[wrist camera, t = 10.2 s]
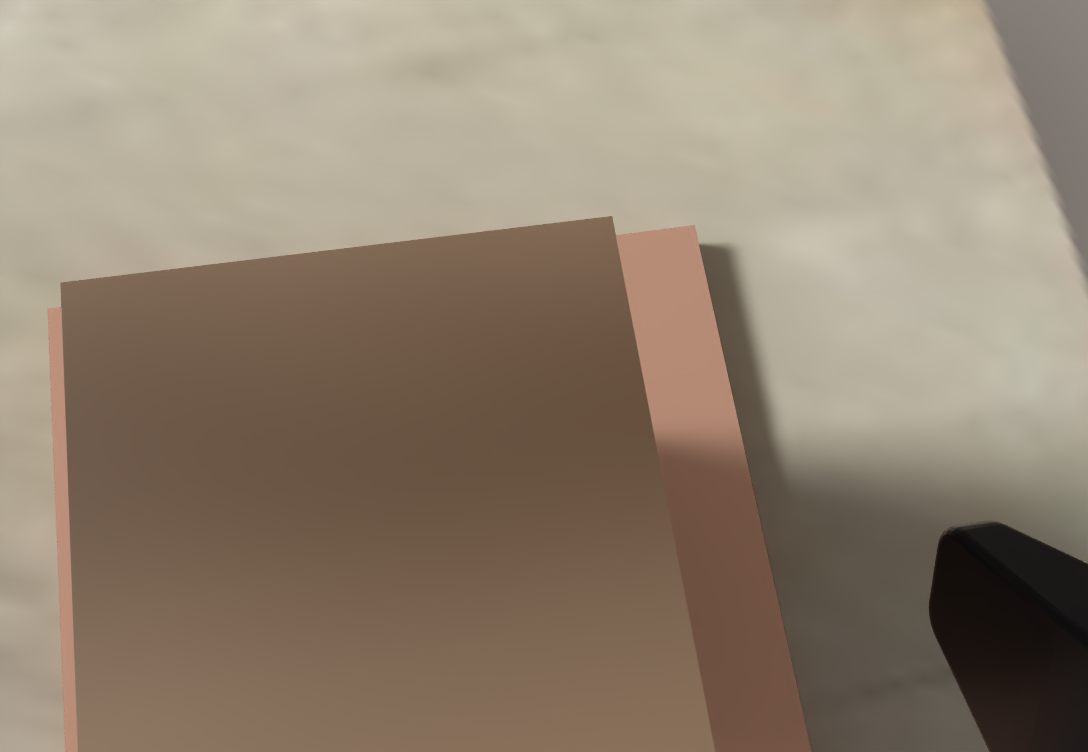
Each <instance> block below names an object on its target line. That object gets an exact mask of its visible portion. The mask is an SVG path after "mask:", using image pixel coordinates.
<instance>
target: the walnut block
mask: <svg viewBox="0 0 1088 752" xmlns="http://www.w3.org/2000/svg"><path fill="white" fill-rule="evenodd" d="M61 308H62V335H63V362H64V389H65V416H66V443H67V471H68V498H69V525H70V552H71V579H72V606H73V633H74V661H75V688H76V715H77V742H78V752H715V747H714V742H713V737H712V732H711V727H710V722H709V716H708V711H707V706H706V701H705V696H704V690H703V685H702V680H701V675H700V670H699V665H698V659H697V654H696V649H695V644H694V639H693V633H692V628H691V623H690V618H689V613H688V607H687V602H686V597H685V592H684V587H683V582H682V576H681V571H680V566H679V561H678V556H677V550H676V545H675V540H674V535H673V530H672V525H671V519H670V514H669V509H668V504H667V499H666V493H665V488H664V483H663V478H662V473H661V467H660V462H659V457H658V452H657V447H656V442H655V436H654V431H653V426H652V421H651V416H650V410H649V405H648V400H647V395H646V390H645V384H644V379H643V374H642V369H641V364H640V359H639V353H638V348H637V343H636V338H635V333H634V327H633V322H632V317H631V312H630V307H629V302H628V296H627V291H626V286H625V281H624V276H623V270H622V265H621V260H620V255H619V250H618V244H617V239H616V234H615V229H614V224H613V219H612V216H610V217H601V218H593V219H585V220H576V221H568V222H560V223H552V224H543V225H535V226H527V227H518V228H510V229H502V230H494V231H485V232H477V233H469V234H460V235H452V236H444V237H436V238H427V239H419V240H411V241H402V242H394V243H386V244H377V245H369V246H361V247H353V248H344V249H336V250H328V251H319V252H311V253H303V254H295V255H286V256H278V257H270V258H261V259H253V260H245V261H237V262H228V263H220V264H212V265H203V266H195V267H187V268H179V269H170V270H162V271H154V272H145V273H137V274H129V275H121V276H112V277H104V278H96V279H87V280H79V281H71V282H63V283H61Z"/></svg>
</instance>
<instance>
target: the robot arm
mask: <svg viewBox="0 0 1088 752" xmlns="http://www.w3.org/2000/svg"><path fill="white" fill-rule="evenodd" d="M929 615H930V621H931V625H932V628H933V632H934V634H935V636H936V639H937V641H938V643H939V645H940V647H941V649H942V651H943V654H944V656H945V658H946V660H947V662H948V664H949V666H950V668H951V671H952V673H953V675H954V677H955V679H956V681H957V683H958V685H959V688H960V690H961V692H962V694H963V696H964V698H965V700H966V702H967V705H968V707H969V709H970V711H971V713H972V715H973V717H974V719H975V722H976V724H977V726H978V728H979V730H980V732H981V734H982V736H983V739H984V741H985V743H986V745H987V747H988V749H989V751H990V752H1088V564H1087V563H1085V562H1083V561H1081V560H1078V559H1076V558H1074V557H1072V556H1070V555H1068V554H1066V553H1064V552H1062V551H1059V550H1057V549H1055V548H1053V547H1051V546H1049V545H1047V544H1045V543H1043V542H1040V541H1038V540H1036V539H1034V538H1032V537H1030V536H1028V535H1026V534H1023V533H1021V532H1019V531H1017V530H1015V529H1013V528H1011V527H1009V526H1007V525H1004V524H1002V523H999V522H996V521H982V522H976V523H970V524H964V525H958V526H953V527H950V528H948V529H946V530H945V531H944V532H943V534H942V535H941V537H940V539H939V543H938V548H937V555H936V561H935V567H934V574H933V580H932V587H931V593H930V600H929Z"/></svg>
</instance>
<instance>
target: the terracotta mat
mask: <svg viewBox="0 0 1088 752" xmlns="http://www.w3.org/2000/svg"><path fill="white" fill-rule="evenodd" d="M616 239H617V244H618V250H619V255H620V260H621V265H622V270H623V276H624V281H625V286H626V291H627V296H628V302H629V307H630V312H631V317H632V322H633V327H634V333H635V338H636V343H637V348H638V353H639V359H640V364H641V369H642V374H643V379H644V384H645V390H646V395H647V400H648V405H649V410H650V416H651V421H652V426H653V431H654V436H655V442H656V447H657V452H658V457H659V462H660V467H661V473H662V478H663V483H664V488H665V493H666V499H667V504H668V509H669V514H670V519H671V525H672V530H673V535H674V540H675V545H676V550H677V556H678V561H679V566H680V571H681V576H682V582H683V587H684V592H685V597H686V602H687V607H688V613H689V618H690V623H691V628H692V633H693V639H694V644H695V649H696V654H697V659H698V665H699V670H700V675H701V680H702V685H703V690H704V696H705V701H706V706H707V711H708V716H709V722H710V727H711V732H712V737H713V742H714V747H715V752H812V750H811V746H810V741H809V737H808V732H807V728H806V723H805V719H804V714H803V710H802V705H801V701H800V696H799V692H798V687H797V683H796V678H795V674H794V669H793V665H792V660H791V656H790V651H789V647H788V642H787V638H786V634H785V629H784V625H783V620H782V616H781V611H780V607H779V602H778V598H777V593H776V589H775V584H774V580H773V575H772V571H771V566H770V562H769V557H768V553H767V548H766V544H765V539H764V535H763V530H762V526H761V521H760V517H759V512H758V508H757V503H756V499H755V494H754V490H753V485H752V481H751V476H750V472H749V467H748V463H747V458H746V454H745V449H744V445H743V441H742V436H741V432H740V427H739V423H738V418H737V414H736V409H735V405H734V400H733V396H732V391H731V387H730V382H729V378H728V373H727V369H726V364H725V360H724V355H723V351H722V346H721V342H720V337H719V333H718V328H717V324H716V319H715V315H714V310H713V306H712V301H711V297H710V292H709V288H708V283H707V279H706V274H705V270H704V265H703V261H702V257H701V252H700V248H699V243H698V239H697V234H696V230H695V225H693V226H685V227H677V228H670V229H662V230H654V231H647V232H639V233H631V234H623V235H616ZM48 330H49V354H50V379H51V404H52V428H53V453H54V478H55V502H56V527H57V552H58V576H59V601H60V626H61V650H62V675H63V700H64V724H65V749H66V752H78V742H77V715H76V688H75V661H74V633H73V606H72V579H71V552H70V525H69V498H68V471H67V443H66V416H65V389H64V362H63V335H62V308H61V307H58V308H51V309H48Z"/></svg>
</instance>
